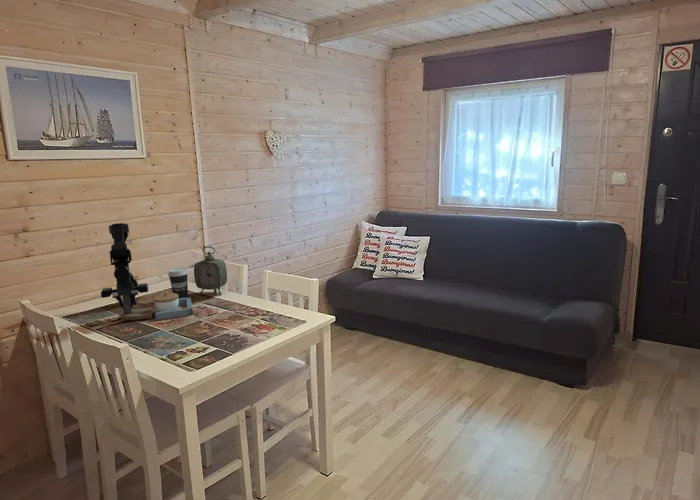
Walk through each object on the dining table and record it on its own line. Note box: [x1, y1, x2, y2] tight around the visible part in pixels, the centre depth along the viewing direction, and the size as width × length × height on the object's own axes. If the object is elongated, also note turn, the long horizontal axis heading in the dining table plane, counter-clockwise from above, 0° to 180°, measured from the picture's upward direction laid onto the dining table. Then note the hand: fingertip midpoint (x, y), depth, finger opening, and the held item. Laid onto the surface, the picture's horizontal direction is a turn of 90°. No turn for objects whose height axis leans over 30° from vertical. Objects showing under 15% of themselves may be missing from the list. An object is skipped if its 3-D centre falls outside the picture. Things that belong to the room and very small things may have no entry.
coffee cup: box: [167, 267, 189, 299], centre depth 236 cm, size 10×10×15 cm
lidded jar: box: [153, 292, 179, 312], centre depth 217 cm, size 11×11×9 cm
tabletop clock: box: [193, 245, 228, 296], centre depth 242 cm, size 14×9×25 cm, turn 76°
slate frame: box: [154, 296, 194, 321], centre depth 219 cm, size 19×16×3 cm
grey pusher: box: [121, 295, 154, 322], centre depth 213 cm, size 12×12×10 cm
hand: (127, 308), depth 212 cm, fingers closed on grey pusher, 3 cm apart
